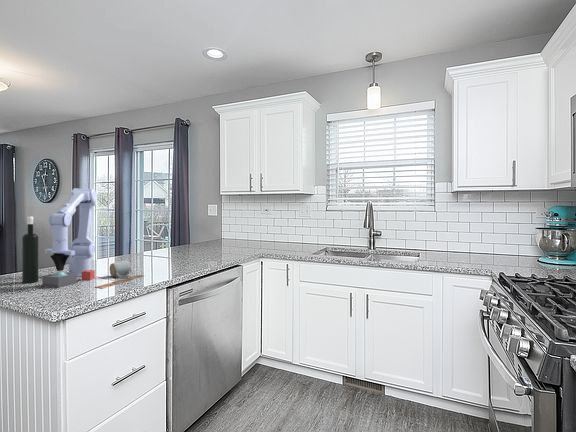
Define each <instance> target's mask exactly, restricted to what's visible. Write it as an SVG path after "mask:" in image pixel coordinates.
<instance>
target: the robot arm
mask: <svg viewBox="0 0 576 432" xmlns="http://www.w3.org/2000/svg"><path fill="white" fill-rule="evenodd" d="M70 194H71V197H70V199H69V200H68V202H66V203H64V204H62V205H61V207H60V208H59V209H58V210H57V211H56V212H54V213H53V214H51V215H50V216H49V220H48V222H49V223H48V224H49V226H50V230H51V233H52V234H51V245H52V246H51V248H46V249H45V254H49V255H50V254H52V255H50V259H51V260H52V261H53V263H54V266H55V270H56V271H57V272H59V271H64V270H65V269H64V268H65V266H66V263H67V260H68V259H69V257H70V256H71V258H70V259H69V261H68V273H77V277H82V272H83V271H85V270H92V261H91V260H92V259H91V258H92V257H93V256H94V255H95V252H96V247H95V246H96V245H95V241H93V240H92V239H91V238H90V234H91V233H90V232H91V224H92V216H93V209H94V207H95V206H96V205H97V199H98V193H97V190H95V188H78V187H77V188H76V187H74V188H73V189H72V190H71V193H70ZM77 206H79V207H80V208H81V209H80V215H79V217H80V218H79V225H78V233H77V237H76V238H75V239H73V240H72V242H71V244H70V247H69V244H68V243H69V234H68V233H69V226H70V225H71V223H72V222H71V221H72V219H73V215H74V214H75V213H76V212H77Z"/></svg>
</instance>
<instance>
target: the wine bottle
mask: <svg viewBox="0 0 576 432" xmlns="http://www.w3.org/2000/svg"><path fill="white" fill-rule="evenodd" d="M26 217H27V219H26V220H27V223H26V224H27V233H24V234H23V235H22V237H21V241H22V242H21V244H22V245H21V246H22V247H21V253H22V255H21V258H22V259H21V261H22V262H21V263H22V265H21V268H22V269H21V270H22V271H21V272H22V273H21V274H22V276H21V278H22V280H21V281H22V284H34V283H38V282H39V235H38V234H37V233H34V216H26Z"/></svg>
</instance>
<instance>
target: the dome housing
mask: <svg viewBox="0 0 576 432" xmlns="http://www.w3.org/2000/svg"><path fill="white" fill-rule="evenodd" d="M63 272H64V273H65V274H68V275H64V276H60V277H58V276H52V275H54V274H56V273H57V272H54V273H48V274H45V275H44V274H43V275H42V277H41V278H42V279H41V281H42V282H41V283H42V285H41V286H42V287H47V288H48V287H50V288H59V289H60V288H63V287H67V286H71V285H74V284H78V276H77V273H69V271H68V272H67V271H66V272H65V271H63Z"/></svg>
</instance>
